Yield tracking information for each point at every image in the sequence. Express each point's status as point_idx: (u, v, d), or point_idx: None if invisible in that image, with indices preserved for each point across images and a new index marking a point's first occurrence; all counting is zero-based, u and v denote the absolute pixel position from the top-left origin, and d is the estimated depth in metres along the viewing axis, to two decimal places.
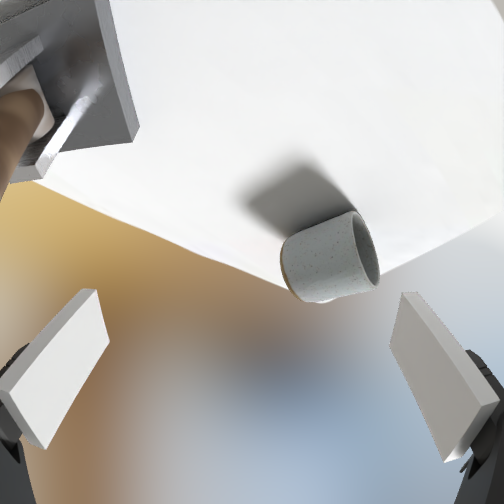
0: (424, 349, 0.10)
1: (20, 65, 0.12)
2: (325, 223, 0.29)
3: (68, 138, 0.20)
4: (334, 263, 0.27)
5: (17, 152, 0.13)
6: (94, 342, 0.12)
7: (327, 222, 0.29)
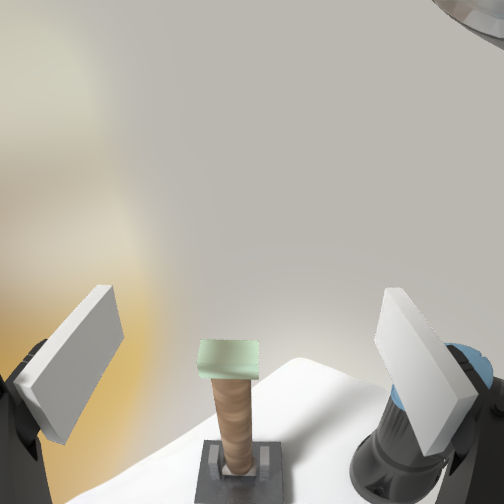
0: (405, 344, 0.10)
1: (261, 473, 0.36)
2: None
3: (206, 474, 0.37)
4: None
5: (233, 462, 0.33)
6: (110, 337, 0.12)
7: None
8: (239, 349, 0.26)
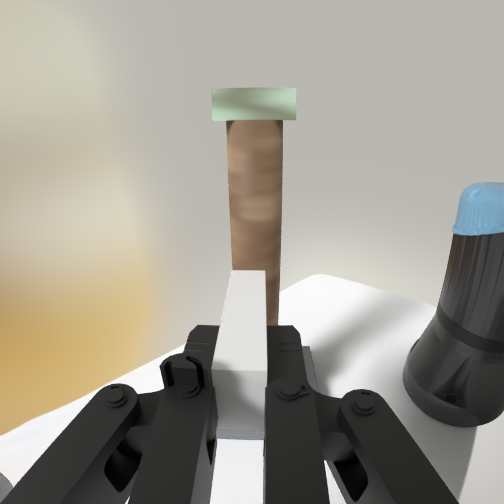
0: None
1: None
2: None
3: None
4: None
5: None
6: None
7: None
8: None
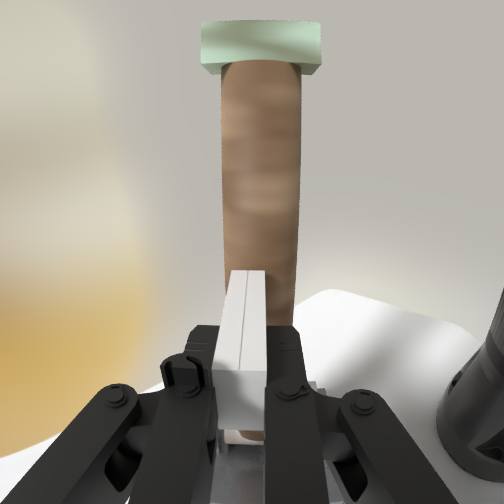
0: None
1: None
2: None
3: None
4: None
5: None
6: None
7: None
8: None
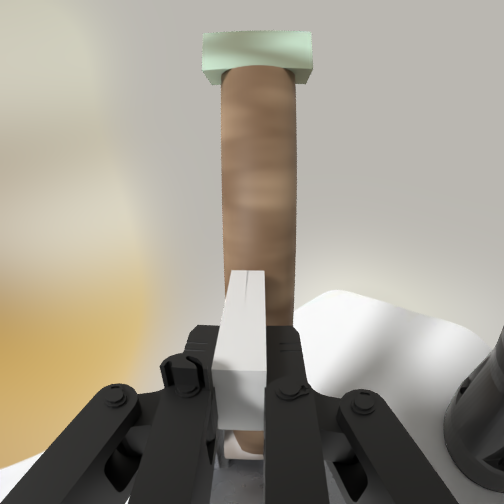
0: None
1: None
2: None
3: None
4: None
5: None
6: None
7: None
8: None
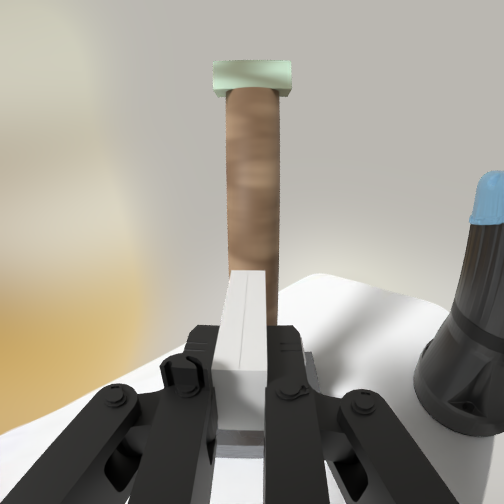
0: None
1: None
2: None
3: None
4: None
5: None
6: None
7: None
8: None
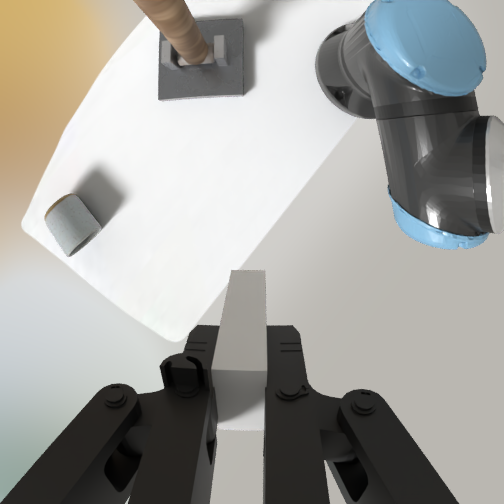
0: None
1: (218, 62, 0.36)
2: (92, 215, 0.47)
3: (166, 65, 0.39)
4: (80, 224, 0.43)
5: (183, 54, 0.32)
6: None
7: None
8: None
